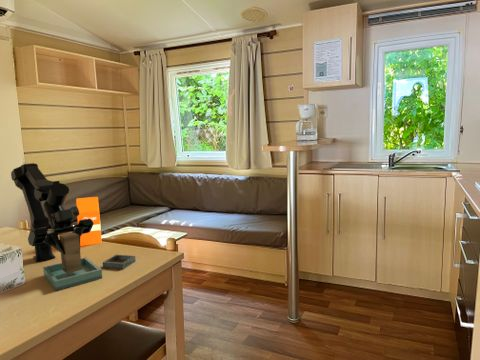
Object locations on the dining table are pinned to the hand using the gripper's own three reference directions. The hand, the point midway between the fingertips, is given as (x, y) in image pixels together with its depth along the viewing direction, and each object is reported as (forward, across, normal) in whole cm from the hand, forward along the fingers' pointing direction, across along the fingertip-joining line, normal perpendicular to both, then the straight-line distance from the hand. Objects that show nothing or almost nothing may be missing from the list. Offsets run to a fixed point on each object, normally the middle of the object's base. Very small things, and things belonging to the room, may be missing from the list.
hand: (72, 251), depth 115 cm
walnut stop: (+4, 0, +6) cm, 7 cm away
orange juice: (-18, +21, +31) cm, 41 cm away
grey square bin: (+7, +16, +6) cm, 18 cm away
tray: (+5, 0, +7) cm, 9 cm away
